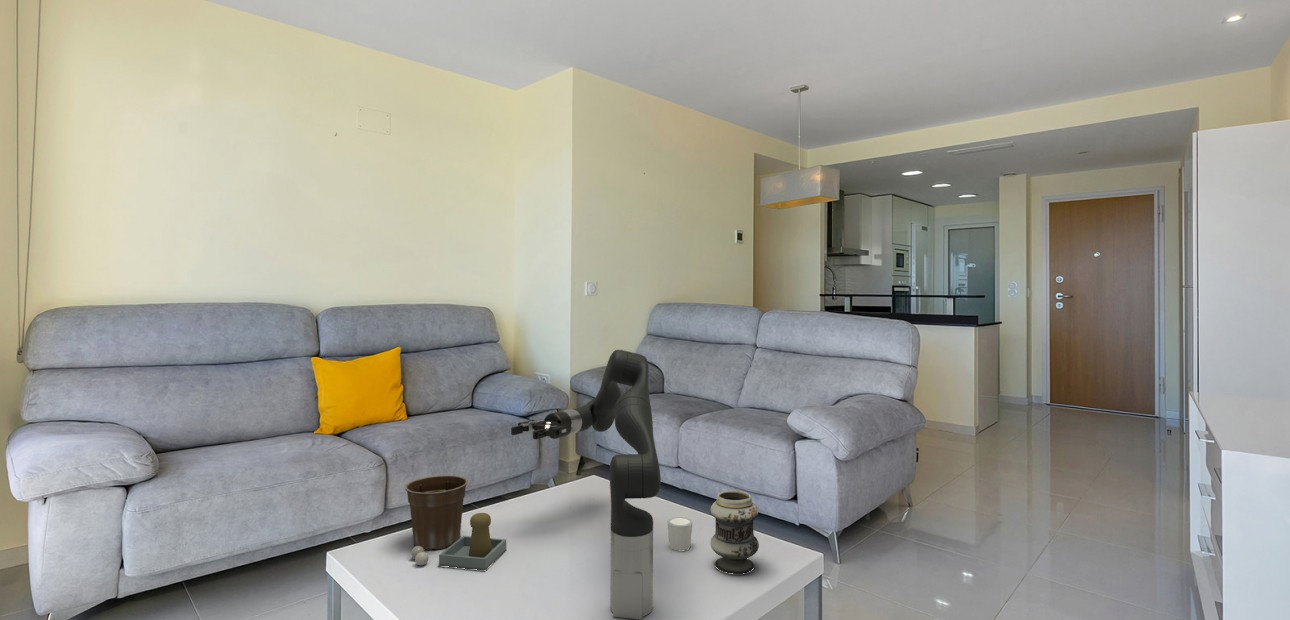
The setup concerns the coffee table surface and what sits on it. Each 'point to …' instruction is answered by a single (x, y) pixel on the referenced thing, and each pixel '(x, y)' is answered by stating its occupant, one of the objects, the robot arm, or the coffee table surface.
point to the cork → (480, 535)
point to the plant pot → (436, 510)
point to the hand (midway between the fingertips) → (522, 433)
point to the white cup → (679, 533)
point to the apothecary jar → (734, 531)
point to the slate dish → (460, 556)
